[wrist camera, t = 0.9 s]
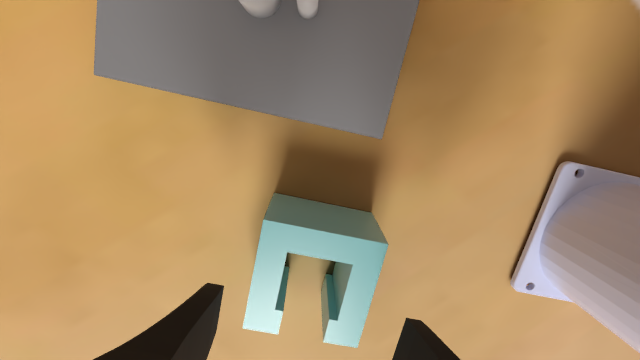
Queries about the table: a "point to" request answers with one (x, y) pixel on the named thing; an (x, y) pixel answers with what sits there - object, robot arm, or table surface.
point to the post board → (264, 54)
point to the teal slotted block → (325, 243)
